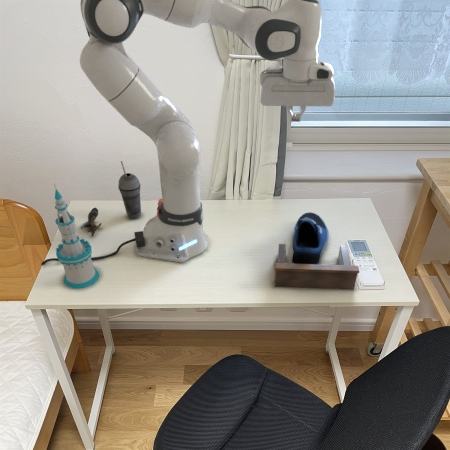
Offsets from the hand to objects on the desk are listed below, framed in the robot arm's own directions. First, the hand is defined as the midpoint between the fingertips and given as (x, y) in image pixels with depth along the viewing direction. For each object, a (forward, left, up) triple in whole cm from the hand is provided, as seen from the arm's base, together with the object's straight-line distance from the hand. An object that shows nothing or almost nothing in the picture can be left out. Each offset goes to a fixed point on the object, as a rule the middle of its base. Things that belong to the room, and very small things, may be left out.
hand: (295, 121), depth 130 cm
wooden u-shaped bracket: (+7, -26, -34) cm, 44 cm away
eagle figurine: (-64, -7, -34) cm, 73 cm away
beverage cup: (-52, +2, -34) cm, 62 cm away
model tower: (-60, -32, -34) cm, 76 cm away
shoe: (+7, -14, -34) cm, 38 cm away
